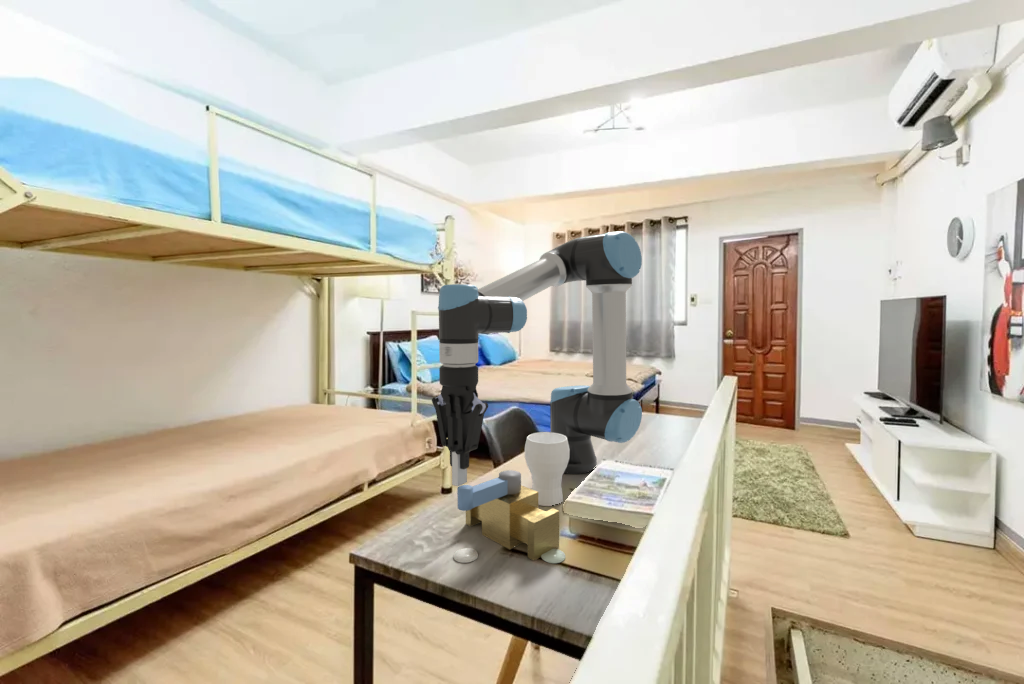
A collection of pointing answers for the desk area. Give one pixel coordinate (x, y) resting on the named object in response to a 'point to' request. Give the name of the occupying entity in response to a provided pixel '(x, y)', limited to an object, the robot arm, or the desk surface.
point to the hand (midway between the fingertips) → (459, 483)
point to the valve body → (518, 522)
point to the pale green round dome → (553, 556)
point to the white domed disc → (465, 555)
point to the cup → (547, 465)
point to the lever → (489, 490)
